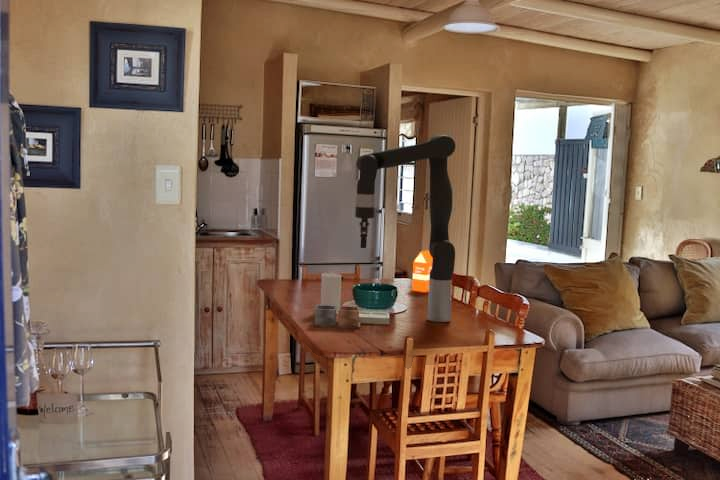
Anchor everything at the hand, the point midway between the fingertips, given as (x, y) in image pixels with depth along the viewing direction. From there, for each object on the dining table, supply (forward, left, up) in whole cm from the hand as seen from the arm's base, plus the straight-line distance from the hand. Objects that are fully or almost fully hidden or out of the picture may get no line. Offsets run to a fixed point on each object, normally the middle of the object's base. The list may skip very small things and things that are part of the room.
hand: (363, 246), depth 274 cm
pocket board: (-4, -1, -30) cm, 30 cm away
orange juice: (-30, -73, -30) cm, 85 cm away
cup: (+13, -13, -30) cm, 35 cm away
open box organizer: (+9, +8, -30) cm, 33 cm away
